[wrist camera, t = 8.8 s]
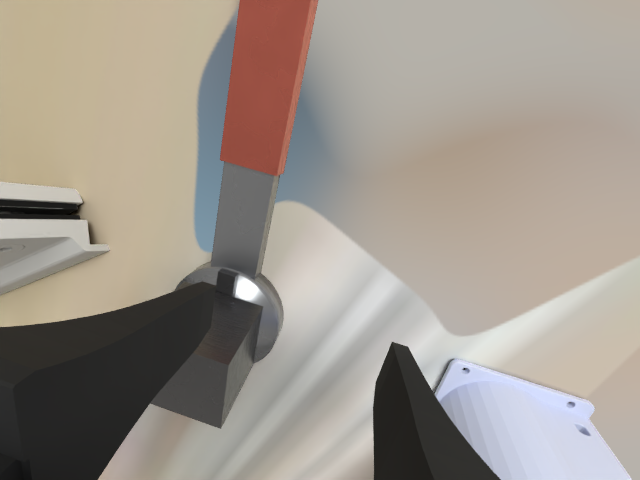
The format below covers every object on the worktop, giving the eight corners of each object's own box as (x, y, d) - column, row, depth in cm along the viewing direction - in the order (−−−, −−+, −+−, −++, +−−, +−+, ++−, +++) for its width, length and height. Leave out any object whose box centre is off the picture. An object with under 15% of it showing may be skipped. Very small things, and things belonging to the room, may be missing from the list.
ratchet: (362, -8, 16) (356, -55, 12) (272, 365, 25) (250, 413, 21) (216, -41, 17) (161, -97, 13) (179, 334, 26) (140, 375, 22)
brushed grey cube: (263, 306, 21) (228, 365, 17) (253, 364, 24) (220, 428, 19) (184, 281, 22) (130, 331, 17) (183, 340, 24) (135, 398, 20)
